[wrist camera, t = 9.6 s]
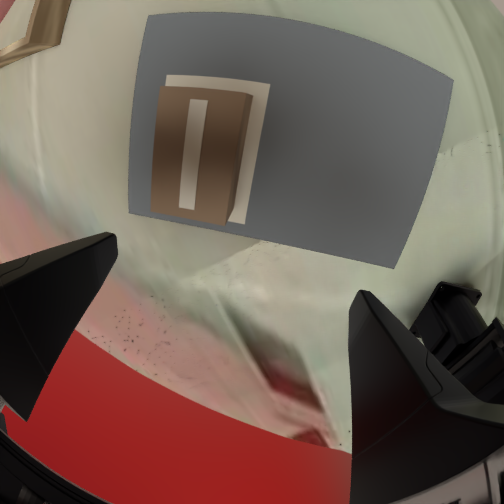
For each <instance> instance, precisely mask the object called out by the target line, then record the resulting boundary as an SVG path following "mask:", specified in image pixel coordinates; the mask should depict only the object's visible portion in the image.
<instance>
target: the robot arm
mask: <svg viewBox="0 0 504 504" xmlns="http://www.w3.org/2000/svg"><path fill="white" fill-rule="evenodd" d="M117 256H118V248H117V237H116V235H115V234H113V233H109V232H104V233H100V234H96V235H93V236H89V237H86V238H82V239H79V240H76V241H72V242H69V243H65V244H62V245H59V246H56V247H52V248H49V249H46V250H43V251H40V252H37V253H34V254H31V256H30V255H28V256H25V257H22V258H19V259H15V260H12V261H9V262H6V263H3V264H0V504H112V503H110V502H108V501H106V500H104V499H102V498H100V497H98V496H96V495H94V494H92V493H90V492H88V491H86V490H85V489H83V488H81V487H79V486H78V485H76V484H74V483H72V482H71V481H69V480H67V479H66V478H64V477H63V476H61V475H59V474H58V473H56V472H55V471H53V470H52V469H50V468H49V467H48V466H46V465H45V464H43V463H42V462H40V461H39V460H38V459H36V458H35V457H34V456H32V455H31V454H30V453H28V452H27V451H26V450H25V449H23V448H22V447H21V446H20V445H19V444H17V443H16V442H15V441H14V440H12V439H11V438H10V437H9V436H8V434H7V429H6V423H5V417H4V415H3V414H2V413H1V410H2V409H3V407H4V405H6V406H8V407H9V408H10V409H11V410H12V411H13V412H15V413H16V414H17V415H18V416H19V417H21V418H22V419H23V420H24V421H26V422H27V421H28V419H29V417H30V414H31V412H32V410H33V408H34V405H35V403H36V401H37V399H38V397H39V395H40V392H41V390H42V388H43V386H44V384H45V382H46V380H47V378H48V375H49V374H50V372H51V370H52V368H53V366H54V364H55V363H56V361H57V359H58V357H59V355H60V354H61V352H62V350H63V348H64V346H65V345H66V343H67V341H68V339H69V338H70V336H71V334H72V333H73V331H74V329H75V328H76V326H77V324H78V323H79V321H80V319H81V318H82V316H83V315H84V313H85V311H86V310H87V308H88V307H89V305H90V304H91V302H92V301H93V299H94V298H95V296H96V295H97V293H98V291H99V290H100V288H101V286H102V285H103V283H104V281H105V279H106V277H107V275H108V274H109V272H110V270H111V268H112V266H113V265H114V263H115V261H116V259H117ZM442 286H443V287H442ZM441 287H442V288H441ZM481 296H482V293H481V292H480V290H477V289H473V288H469V287H464V286H460V285H456V284H452V283H448V282H444V281H441V282H439V283H438V284H437V286H436V287H435V289H434V291H433V293H432V294H431V296H430V298H429V300H428V301H427V303H426V304H425V306H424V308H423V309H422V311H421V313H420V314H419V316H418V317H417V319H416V320H415V322H414V323H413V325H412V326H411V328H410V329H409V330H408V329H407V328H406V327H405V326H404V325H403V324H402V322H401V321H400V320H399V319H398V318H397V317H396V316H395V315H394V314H393V313H392V312H391V311H390V310H389V309H388V308H387V307H386V306H385V305H384V304H382V303H381V302H380V301H379V300H378V299H377V298H376V297H375V296H374V295H373V294H372V293H371V292H370V291H366V290H359V291H358V292H357V294H356V296H355V298H354V300H353V302H352V304H351V307H350V309H349V337H348V352H349V366H350V382H351V403H352V468H351V489H350V490H351V491H350V503H349V504H504V325H503V324H502V323H501V322H500V320H499V319H498V318H497V317H496V318H495V319H494V320H493V321H492V323H491V324H490V325H489V326H487V325H486V323H485V321H484V320H483V318H482V316H481V315H480V313H479V312H478V310H477V308H476V307H475V306H476V304H477V303H478V301H479V299H480V298H481ZM416 337H417V338H421V339H422V341H423V344H424V345H423V344H422V343H421V342H420V341H419V340H418V339H417V338H416Z"/></svg>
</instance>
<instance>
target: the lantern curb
mask: <svg viewBox="0 0 504 504" xmlns="http://www.w3.org/2000/svg"><path fill="white" fill-rule="evenodd" d="M70 2H71V0H36V1H35V4H34V7H33V10H32V13H31V17H30V21H29V24H28V28H27V32H26V37H24V38H22V39H20V40H18V41H16V42H14V43H12V44H10V45H9V46H7V47H5V48H3V49H2V50H0V68H2V67H4V66H6V65H8V64H10V63H12V62H15V61H17V60H19V59H21V58H24V57H26V56H29V55H31V54H34V53H36V52H39V51H42V50H44V49H47V48H50V47H53V46H56V45H59V44H60V41H61V36H62V32H63V28H64V24H65V20H66V16H67V12H68V9H69V5H70Z"/></svg>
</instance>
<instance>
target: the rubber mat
mask: <svg viewBox="0 0 504 504" xmlns="http://www.w3.org/2000/svg"><path fill="white" fill-rule="evenodd" d="M453 81H454V80H453V79H451V78H449V77H448V76H446V75H444V74H442V73H441V72H439V71H437V70H435V69H433V68H431V67H429V66H427V65H426V64H424V63H422V62H420V61H417V60H415V59H413V58H411V57H409V56H407V55H405V54H402V53H400V52H398V51H395V50H393V49H391V48H388V47H386V46H383V45H381V44H378V43H375V42H373V41H370V40H367V39H364V38H361V37H358V36H355V35H352V34H349V33H345V32H342V31H339V30H335V29H331V28H327V27H323V26H319V25H315V24H311V23H306V22H301V21H296V20H291V19H285V18H278V17H271V16H264V15H255V14H243V13H227V12H185V13H168V14H157V15H149V16H148V19H147V23H146V27H145V32H144V37H143V41H142V46H141V52H140V57H139V63H138V69H137V76H136V83H135V90H134V98H133V108H132V118H131V130H130V146H129V177H128V201H129V213H130V214H135V215H141V216H146V217H151V218H156V219H161V220H166V221H171V222H176V223H181V224H187V225H192V226H197V227H201V228H206V229H211V230H216V231H221V232H226V233H231V234H236V235H241V236H245V237H250V238H255V239H260V240H265V241H269V242H274V243H279V244H283V245H288V246H293V247H297V248H302V249H307V250H311V251H316V252H320V253H325V254H329V255H334V256H339V257H343V258H347V259H352V260H356V261H361V262H365V263H370V264H374V265H378V266H383V267H387V268H392V269H394V268H395V266H396V264H397V262H398V259H399V257H400V255H401V253H402V251H403V248H404V246H405V244H406V241H407V239H408V237H409V234H410V232H411V230H412V227H413V225H414V222H415V220H416V217H417V214H418V212H419V209H420V206H421V204H422V201H423V198H424V195H425V193H426V190H427V187H428V184H429V181H430V178H431V174H432V171H433V168H434V165H435V161H436V158H437V154H438V151H439V147H440V143H441V140H442V136H443V132H444V127H445V123H446V119H447V114H448V109H449V104H450V99H451V93H452V87H453ZM160 86H179V87H197V88H209V89H220V90H228V91H237V92H244V93H248V94H250V95H253V99H252V105H251V110H250V116H249V121H248V127H247V132H246V138H245V144H244V149H243V155H242V161H241V167H240V173H239V179H238V185H237V191H236V198H235V204H234V209H233V211H232V213H231V215H230V217H229V219H228V221H227V223H226V225H225V226H222V225H217V224H212V223H207V222H202V221H197V220H192V219H187V218H182V217H177V216H171V215H166V214H161V213H156V212H151V179H152V160H153V146H154V134H155V124H156V115H157V106H158V99H159V91H160Z"/></svg>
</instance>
